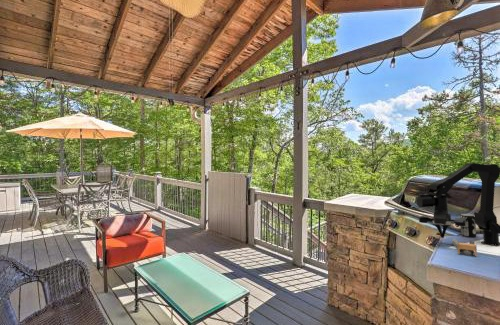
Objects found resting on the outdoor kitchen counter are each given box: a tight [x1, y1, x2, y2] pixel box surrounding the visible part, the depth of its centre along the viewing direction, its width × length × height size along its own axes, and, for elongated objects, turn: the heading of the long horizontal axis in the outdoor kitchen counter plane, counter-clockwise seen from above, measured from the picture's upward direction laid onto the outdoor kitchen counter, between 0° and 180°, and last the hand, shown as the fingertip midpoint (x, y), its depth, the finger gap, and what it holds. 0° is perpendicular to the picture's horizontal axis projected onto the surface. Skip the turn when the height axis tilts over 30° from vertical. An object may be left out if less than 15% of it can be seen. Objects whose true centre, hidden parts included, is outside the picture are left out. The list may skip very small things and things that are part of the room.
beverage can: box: [459, 213, 477, 239], centre depth 146 cm, size 7×7×12 cm
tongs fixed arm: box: [461, 240, 476, 257], centre depth 124 cm, size 20×4×2 cm, turn 139°
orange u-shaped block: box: [457, 242, 478, 257], centre depth 118 cm, size 3×6×4 cm, turn 49°
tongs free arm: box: [451, 239, 462, 253], centre depth 128 cm, size 15×2×2 cm, turn 154°
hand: (442, 237), depth 134 cm, fingers closed
